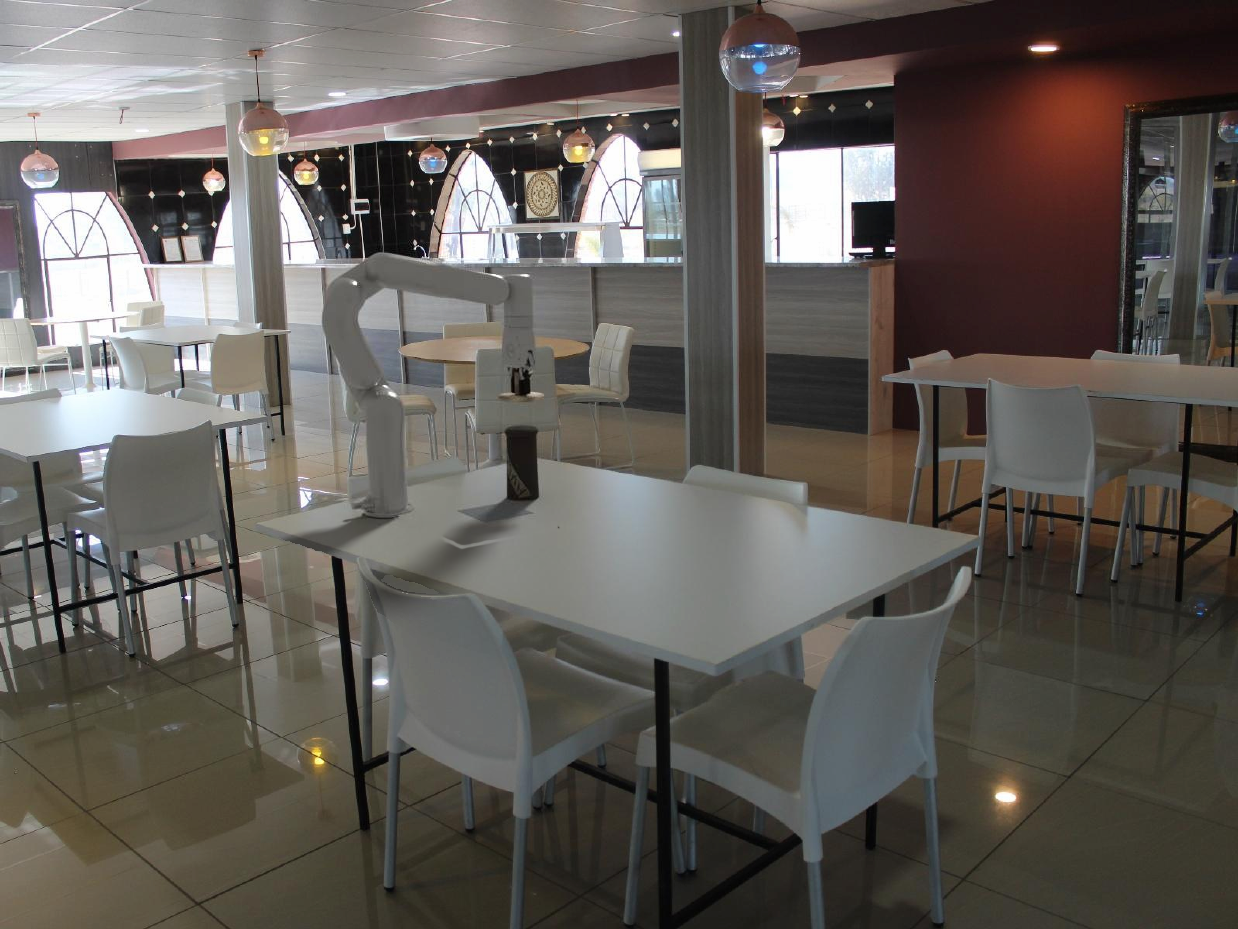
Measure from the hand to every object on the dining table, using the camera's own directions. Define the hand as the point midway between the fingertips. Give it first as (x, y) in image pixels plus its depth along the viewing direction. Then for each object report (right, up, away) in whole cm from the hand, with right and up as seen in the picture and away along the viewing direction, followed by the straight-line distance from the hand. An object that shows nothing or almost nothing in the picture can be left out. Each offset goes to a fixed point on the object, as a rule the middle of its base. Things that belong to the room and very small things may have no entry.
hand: (520, 392), depth 288 cm
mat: (-6, -31, -9) cm, 33 cm away
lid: (0, -2, 0) cm, 2 cm away
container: (0, -28, +6) cm, 29 cm away
